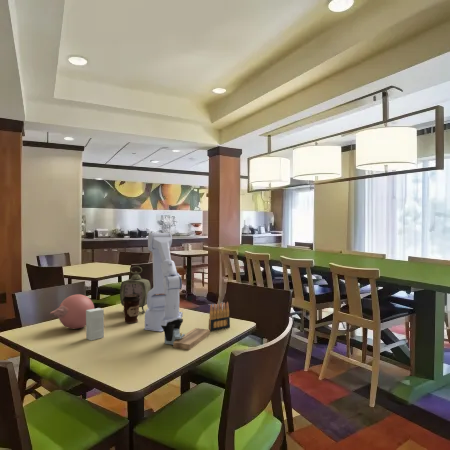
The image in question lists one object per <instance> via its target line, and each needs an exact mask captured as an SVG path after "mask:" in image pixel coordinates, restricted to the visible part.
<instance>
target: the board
mask: <svg viewBox="0 0 450 450" xmlns="http://www.w3.org/2000/svg"><path fill="white" fill-rule="evenodd" d="M184 334H185V336H184V337H182V338H181V339H178V340H176V341H175V342H173V346H172V347H173V348H176V349H180V350H181V349H182V350H192V349H193V348H194V347H195V346H196V345H198V344H199V343H200V342H201V341H203V340H205V339H206V338H207V337H208V336H210V335H211V331H210V330H209V328H208V329H207V328H206V329H205V328H199V327H193V329H191V330H190V331H189V332H187V333H184Z"/></svg>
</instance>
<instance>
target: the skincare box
mask: <svg viewBox="0 0 450 450" xmlns="http://www.w3.org/2000/svg"><path fill="white" fill-rule="evenodd" d="M104 310H105V309H103V308H101V307H97V308H94V309H90V310H86V326H85V334H86V336H85V338H86V340H88V341H95V340H98V339H104V337H105V332H104V331H105V329H104V328H105V327H104V326H105V325H104V324H105V321H104V320H105V319H104V317H105V316H104V315H105V313H104Z"/></svg>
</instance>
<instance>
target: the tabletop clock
mask: <svg viewBox="0 0 450 450" xmlns="http://www.w3.org/2000/svg"><path fill="white" fill-rule="evenodd" d="M133 268H139V269H140V271H139V272H138V271H136V270H135V271H132V269H133ZM129 271H130V273H131V274H132V276H131V278H130V279H127V280H124V281H121V284H120V288H119V289H120V290H119V299H120V300H119V301H120V304H121V306H123V307H124V304H123V298H124V297H125V295H129V294H137V295H140V297H139V298H140V301H139V308H141V309H142V312H141V313H142V314H144V315H145V312H146V310H144V306H147V294H148V292H149V291H150V290H151V289H152V288H151V287H152V286H151V282H150V280H148V279H145V278H142V277H141V275H140V274H141V273H142V272H143V268H142V267H140V265H134V266H131V267H130V268H129ZM122 312H123V313H124V309H123V310H122Z"/></svg>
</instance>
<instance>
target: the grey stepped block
mask: <svg viewBox="0 0 450 450" xmlns="http://www.w3.org/2000/svg"><path fill="white" fill-rule="evenodd" d="M180 330H181V329H174V330H173V337H172V341H166V337H165V336H164V344H166V345H173V342H175V341H176V340H178V339H181V338H182V337H184V336H185V334H186V333H183V332H181V331H180Z"/></svg>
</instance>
